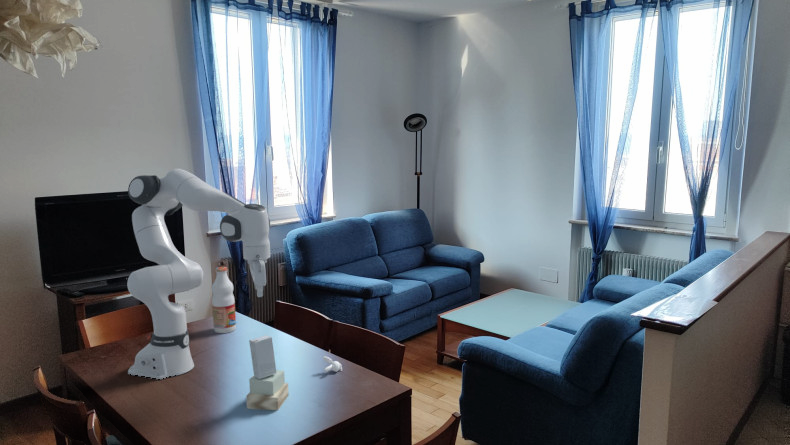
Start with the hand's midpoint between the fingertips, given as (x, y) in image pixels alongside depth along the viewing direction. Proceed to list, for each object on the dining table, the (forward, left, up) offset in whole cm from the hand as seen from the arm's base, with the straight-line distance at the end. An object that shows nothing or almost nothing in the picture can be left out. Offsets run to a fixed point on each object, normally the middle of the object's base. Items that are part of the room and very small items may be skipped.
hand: (258, 292), depth 183 cm
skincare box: (+7, -15, -22) cm, 28 cm away
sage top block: (+8, -15, -27) cm, 32 cm away
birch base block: (+8, -15, -32) cm, 36 cm away
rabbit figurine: (+22, +9, -31) cm, 39 cm away
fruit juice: (-36, +45, -31) cm, 66 cm away
